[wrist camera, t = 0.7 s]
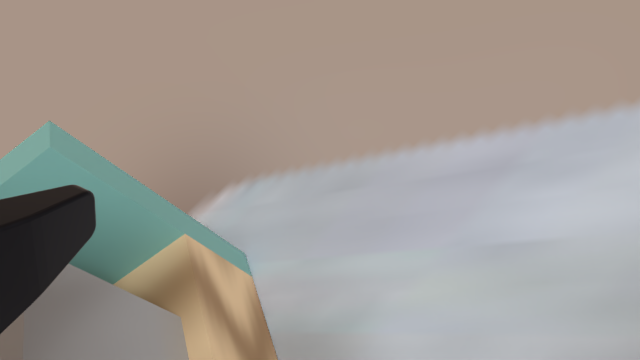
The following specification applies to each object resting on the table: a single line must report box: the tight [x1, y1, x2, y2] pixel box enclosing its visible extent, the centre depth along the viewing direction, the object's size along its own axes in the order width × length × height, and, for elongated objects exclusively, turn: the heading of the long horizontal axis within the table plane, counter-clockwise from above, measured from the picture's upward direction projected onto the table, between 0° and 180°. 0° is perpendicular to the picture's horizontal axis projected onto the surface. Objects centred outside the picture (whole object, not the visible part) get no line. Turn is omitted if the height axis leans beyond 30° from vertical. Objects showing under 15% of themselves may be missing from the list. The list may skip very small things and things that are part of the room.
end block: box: [0, 121, 252, 285], centre depth 25 cm, size 2×11×12 cm, turn 113°
